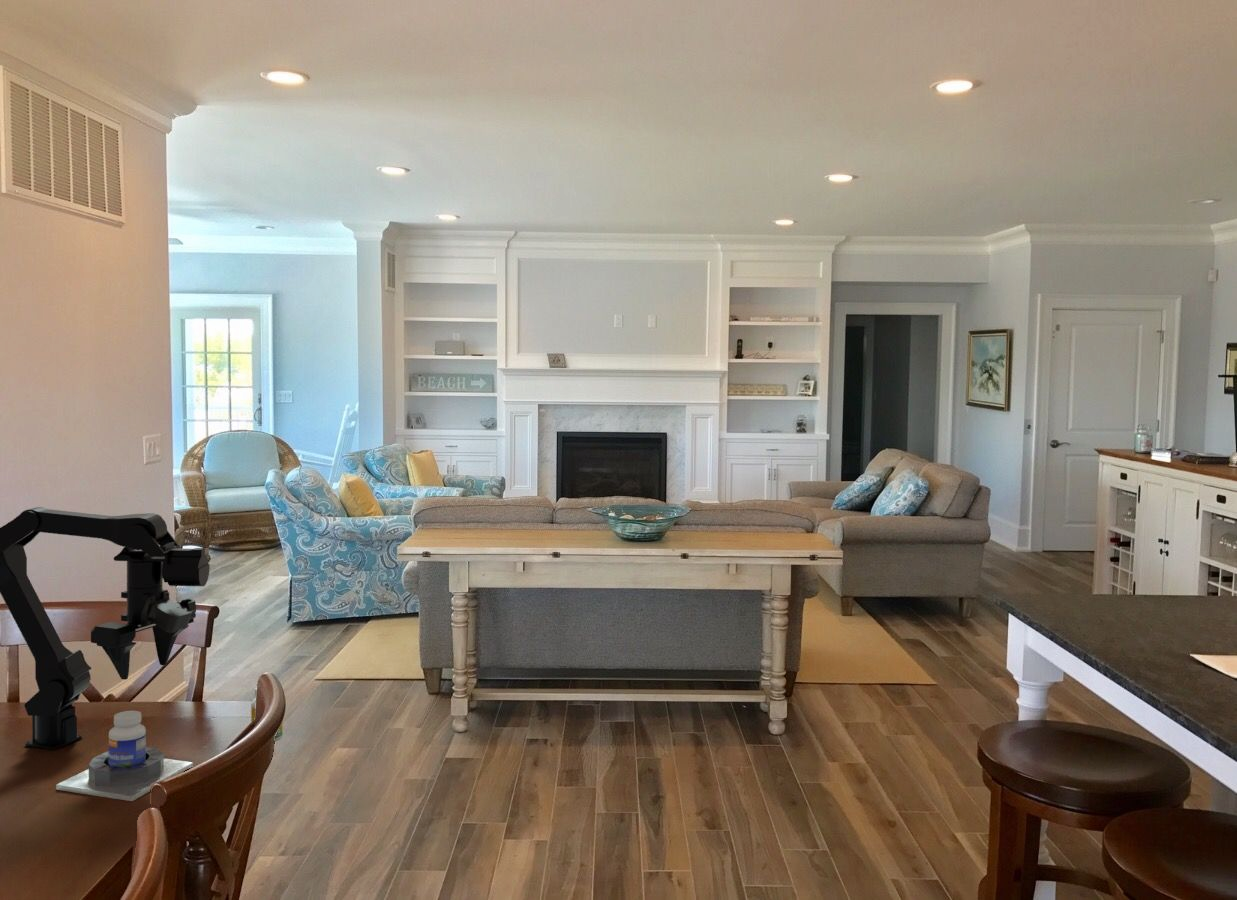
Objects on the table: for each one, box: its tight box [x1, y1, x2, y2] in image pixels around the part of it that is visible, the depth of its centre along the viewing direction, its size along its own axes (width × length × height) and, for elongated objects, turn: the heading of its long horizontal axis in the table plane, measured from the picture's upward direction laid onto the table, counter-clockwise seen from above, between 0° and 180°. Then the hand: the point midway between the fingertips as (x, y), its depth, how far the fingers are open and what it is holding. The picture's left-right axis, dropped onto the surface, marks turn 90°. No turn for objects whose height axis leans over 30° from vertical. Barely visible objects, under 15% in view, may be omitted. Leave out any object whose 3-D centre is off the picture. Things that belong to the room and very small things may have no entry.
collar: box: [55, 746, 194, 802], centre depth 156 cm, size 14×14×3 cm
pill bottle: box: [108, 710, 147, 767], centre depth 156 cm, size 5×5×10 cm
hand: (144, 671), depth 171 cm, fingers open, 9 cm apart
